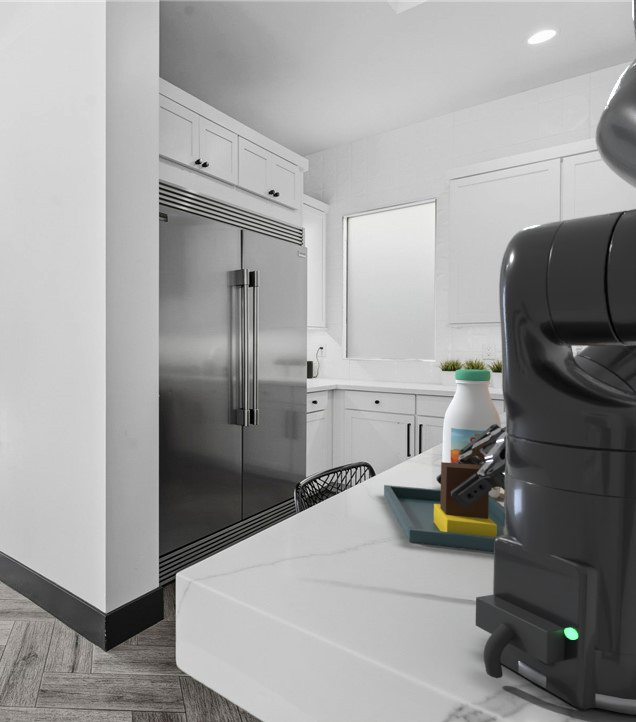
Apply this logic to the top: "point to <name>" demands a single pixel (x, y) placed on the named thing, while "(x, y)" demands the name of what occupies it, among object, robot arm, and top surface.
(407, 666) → the top surface
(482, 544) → the tray
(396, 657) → the top surface
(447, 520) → the block on yellow base
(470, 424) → the milk bottle
